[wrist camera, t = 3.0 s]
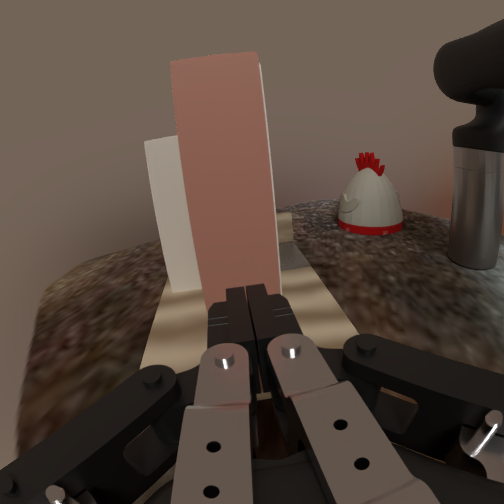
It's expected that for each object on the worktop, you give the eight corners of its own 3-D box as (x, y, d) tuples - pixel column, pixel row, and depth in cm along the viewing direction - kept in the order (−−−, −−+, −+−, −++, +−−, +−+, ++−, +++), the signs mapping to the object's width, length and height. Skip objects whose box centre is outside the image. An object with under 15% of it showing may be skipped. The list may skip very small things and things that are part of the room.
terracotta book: (288, 387, 20) (260, 51, 13) (226, 396, 20) (169, 61, 12) (257, 282, 37) (237, 100, 29) (220, 288, 37) (195, 105, 29)
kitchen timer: (373, 213, 66) (372, 150, 61) (415, 227, 54) (416, 154, 49) (325, 222, 62) (322, 152, 57) (366, 240, 50) (365, 155, 45)
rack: (377, 373, 21) (388, 313, 19) (135, 409, 20) (107, 354, 18) (291, 245, 51) (289, 211, 49) (176, 261, 50) (169, 228, 48)
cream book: (211, 287, 37) (187, 133, 31) (172, 292, 37) (143, 141, 30) (212, 254, 49) (195, 136, 42) (182, 258, 48) (162, 142, 41)
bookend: (309, 266, 40) (305, 178, 36) (264, 273, 40) (255, 183, 35) (292, 243, 49) (287, 171, 45) (255, 248, 49) (247, 175, 45)
